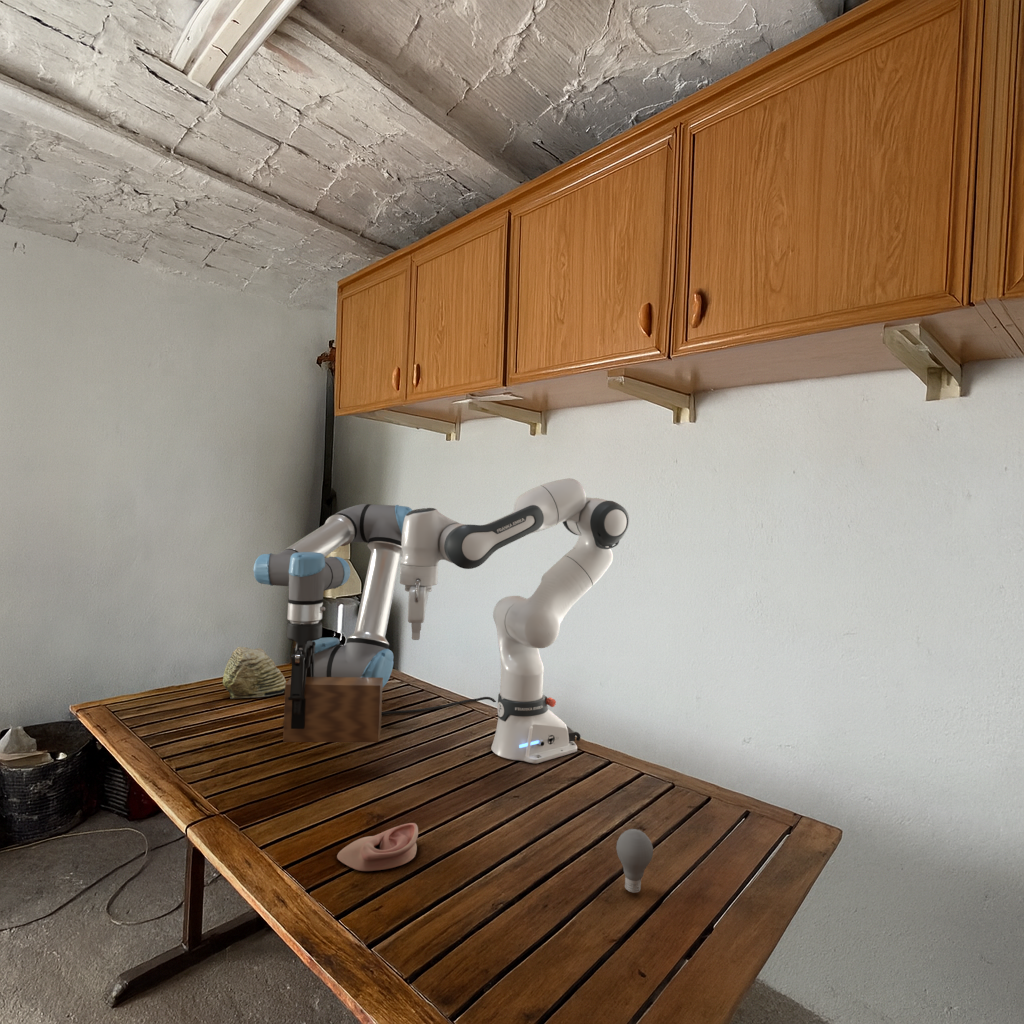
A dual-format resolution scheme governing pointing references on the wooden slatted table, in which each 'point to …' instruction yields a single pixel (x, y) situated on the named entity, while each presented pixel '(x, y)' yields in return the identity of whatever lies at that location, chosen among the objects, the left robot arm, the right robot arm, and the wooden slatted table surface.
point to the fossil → (252, 674)
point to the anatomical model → (382, 849)
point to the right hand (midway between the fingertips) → (416, 634)
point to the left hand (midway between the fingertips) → (301, 722)
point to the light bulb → (634, 857)
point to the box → (337, 710)
